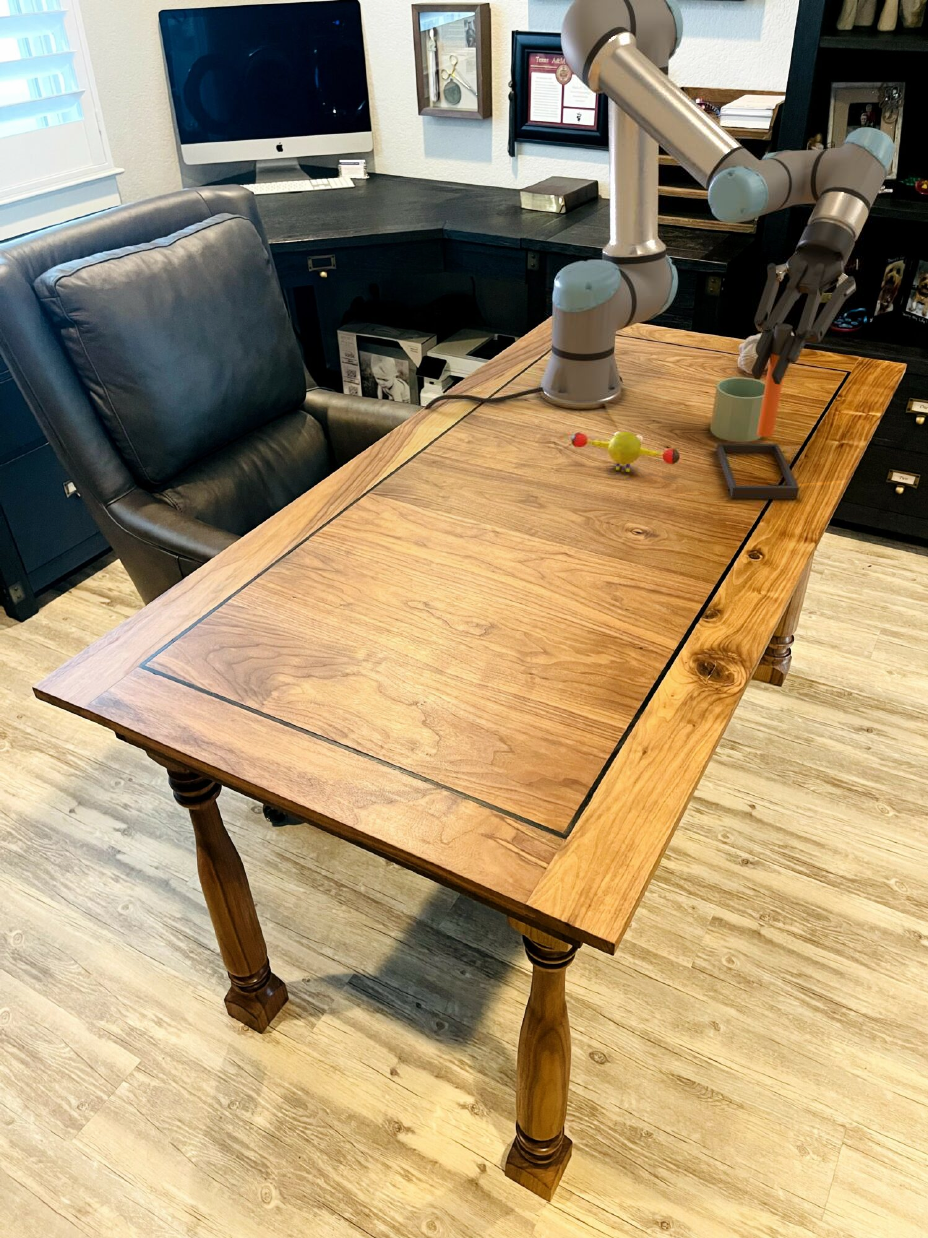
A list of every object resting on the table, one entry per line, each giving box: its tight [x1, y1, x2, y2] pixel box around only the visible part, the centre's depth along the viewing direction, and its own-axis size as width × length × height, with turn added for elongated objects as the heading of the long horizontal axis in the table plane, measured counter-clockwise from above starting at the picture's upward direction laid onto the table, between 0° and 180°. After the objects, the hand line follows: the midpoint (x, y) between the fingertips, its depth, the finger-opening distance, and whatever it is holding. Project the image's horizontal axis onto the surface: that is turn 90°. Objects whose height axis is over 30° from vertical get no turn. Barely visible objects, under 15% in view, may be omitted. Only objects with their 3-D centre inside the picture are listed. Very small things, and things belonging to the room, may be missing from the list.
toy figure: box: [570, 431, 681, 474], centre depth 156 cm, size 18×6×7 cm, turn 65°
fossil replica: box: [737, 331, 795, 375], centre depth 189 cm, size 12×8×10 cm
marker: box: [757, 323, 793, 438], centre depth 144 cm, size 2×2×17 cm
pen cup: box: [709, 376, 766, 443], centre depth 166 cm, size 9×9×8 cm
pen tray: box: [716, 443, 800, 500], centre depth 155 cm, size 15×10×2 cm, turn 177°
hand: (765, 377), depth 141 cm, fingers closed on marker, 2 cm apart
